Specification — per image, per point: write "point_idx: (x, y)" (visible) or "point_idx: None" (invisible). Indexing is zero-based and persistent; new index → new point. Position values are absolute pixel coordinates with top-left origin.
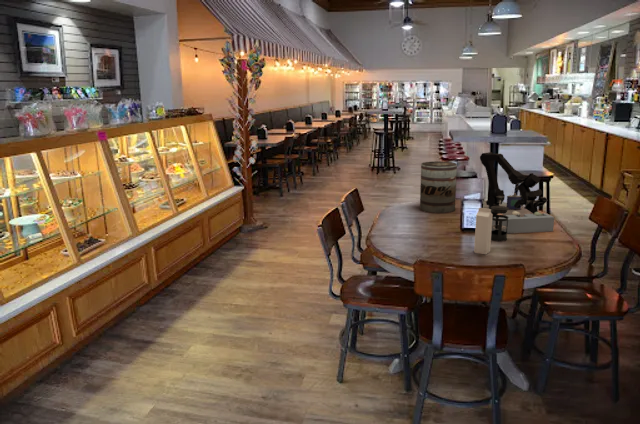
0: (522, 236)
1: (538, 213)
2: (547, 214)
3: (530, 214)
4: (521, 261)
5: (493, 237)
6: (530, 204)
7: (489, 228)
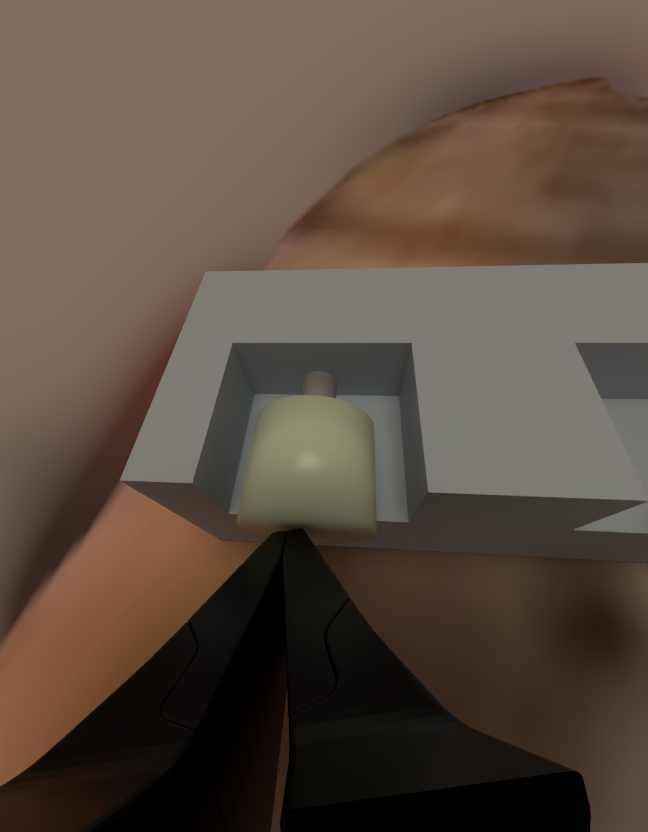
0: None
1: (332, 401)
2: (168, 398)
3: (488, 456)
4: (636, 106)
5: None
6: (577, 795)
7: None
